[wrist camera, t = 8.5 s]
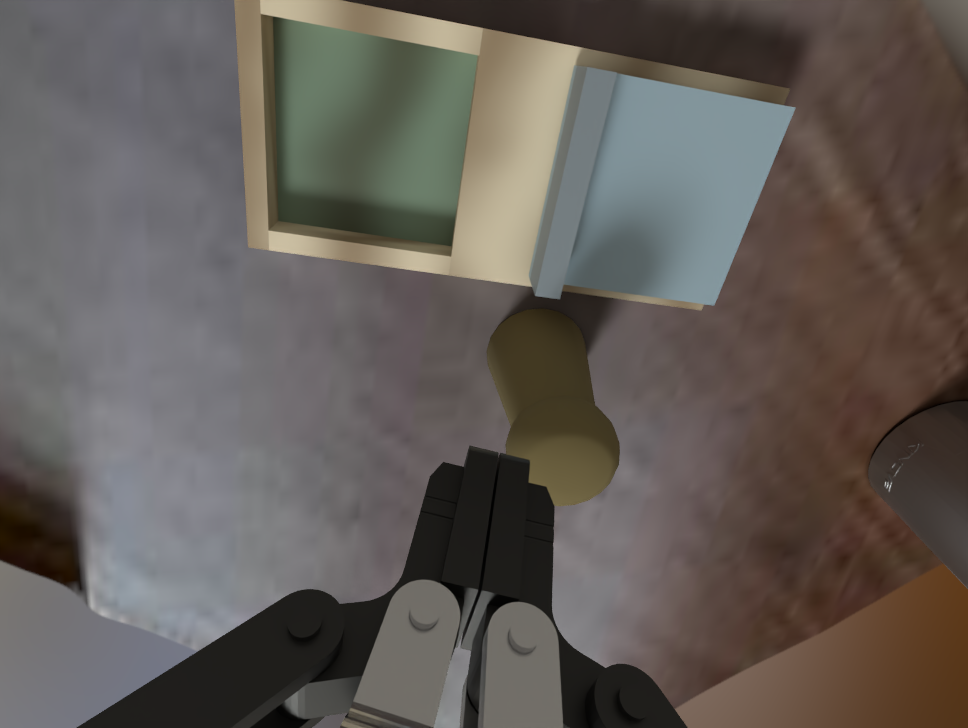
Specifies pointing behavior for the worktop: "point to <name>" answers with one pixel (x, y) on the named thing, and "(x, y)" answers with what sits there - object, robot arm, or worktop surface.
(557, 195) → the cover
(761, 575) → the worktop surface
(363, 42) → the board
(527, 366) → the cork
